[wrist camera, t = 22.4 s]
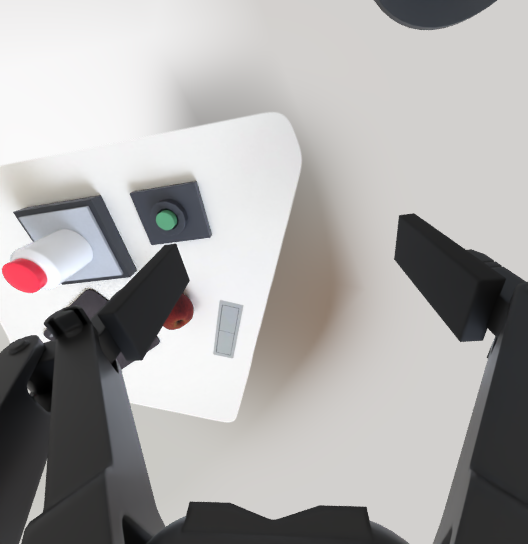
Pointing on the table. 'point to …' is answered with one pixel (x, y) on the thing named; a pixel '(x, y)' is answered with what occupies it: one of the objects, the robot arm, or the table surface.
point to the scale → (83, 235)
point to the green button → (166, 219)
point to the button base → (181, 203)
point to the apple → (180, 313)
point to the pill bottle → (47, 261)
